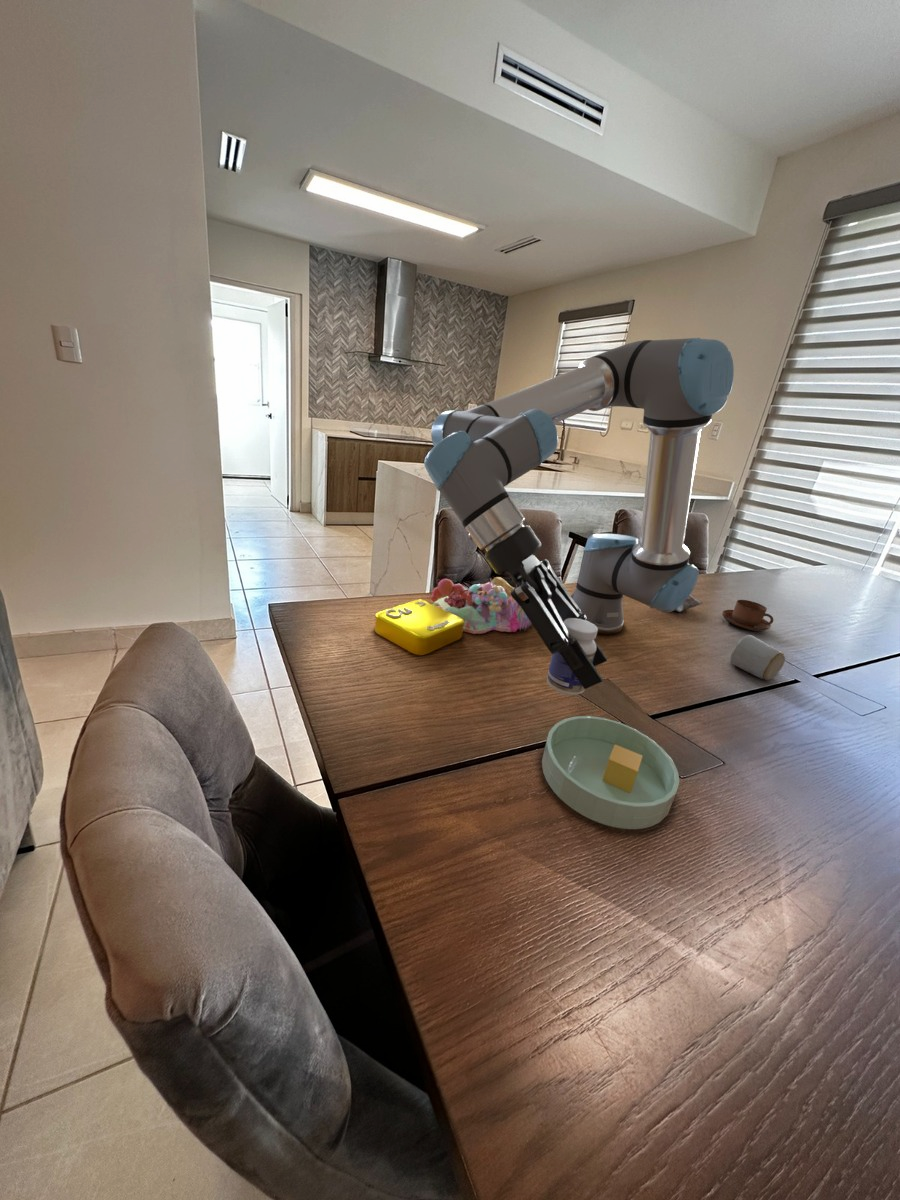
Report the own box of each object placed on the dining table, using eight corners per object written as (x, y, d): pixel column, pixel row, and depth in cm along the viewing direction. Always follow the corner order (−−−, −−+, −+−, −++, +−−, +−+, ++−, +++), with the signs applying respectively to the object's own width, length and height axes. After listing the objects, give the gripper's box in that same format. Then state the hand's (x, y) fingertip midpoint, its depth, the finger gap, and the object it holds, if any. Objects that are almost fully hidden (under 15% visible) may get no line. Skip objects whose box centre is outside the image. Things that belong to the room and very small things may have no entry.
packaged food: (699, 610, 139) (704, 595, 137) (678, 617, 132) (683, 601, 130) (672, 600, 145) (676, 585, 143) (650, 606, 138) (655, 590, 136)
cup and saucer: (768, 625, 135) (776, 605, 132) (768, 639, 125) (777, 618, 123) (721, 612, 140) (729, 593, 138) (718, 624, 130) (726, 604, 128)
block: (602, 780, 68) (608, 759, 66) (608, 765, 71) (614, 744, 70) (630, 793, 66) (638, 771, 65) (635, 776, 69) (642, 755, 68)
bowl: (516, 766, 69) (521, 742, 68) (587, 725, 81) (593, 703, 79) (625, 857, 57) (635, 830, 55) (692, 793, 68) (702, 769, 67)
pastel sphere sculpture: (480, 589, 134) (484, 559, 131) (549, 620, 120) (556, 586, 116) (415, 609, 117) (418, 574, 114) (487, 647, 103) (493, 609, 99)
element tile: (419, 658, 95) (421, 637, 93) (370, 630, 104) (371, 611, 102) (465, 637, 106) (468, 618, 104) (418, 614, 115) (419, 596, 113)
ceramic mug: (762, 685, 101) (776, 654, 98) (725, 666, 107) (737, 636, 104) (785, 676, 106) (799, 646, 104) (749, 658, 113) (761, 630, 110)
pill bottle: (577, 701, 65) (594, 638, 62) (540, 685, 68) (553, 624, 64) (590, 684, 70) (606, 625, 66) (554, 670, 73) (568, 612, 69)
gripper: (502, 538, 75) (582, 656, 77) (460, 569, 59) (562, 718, 60) (541, 512, 72) (624, 636, 73) (507, 537, 55) (615, 696, 57)
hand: (596, 673), depth 67 cm, fingers closed on pill bottle, 6 cm apart
